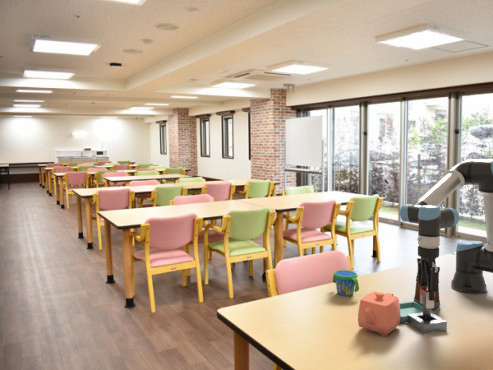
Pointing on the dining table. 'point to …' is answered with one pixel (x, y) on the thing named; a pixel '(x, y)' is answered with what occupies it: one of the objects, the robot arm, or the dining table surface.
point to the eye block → (426, 323)
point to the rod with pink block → (425, 310)
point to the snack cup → (345, 282)
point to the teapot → (379, 312)
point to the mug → (417, 294)
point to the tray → (409, 310)
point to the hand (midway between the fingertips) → (427, 305)
